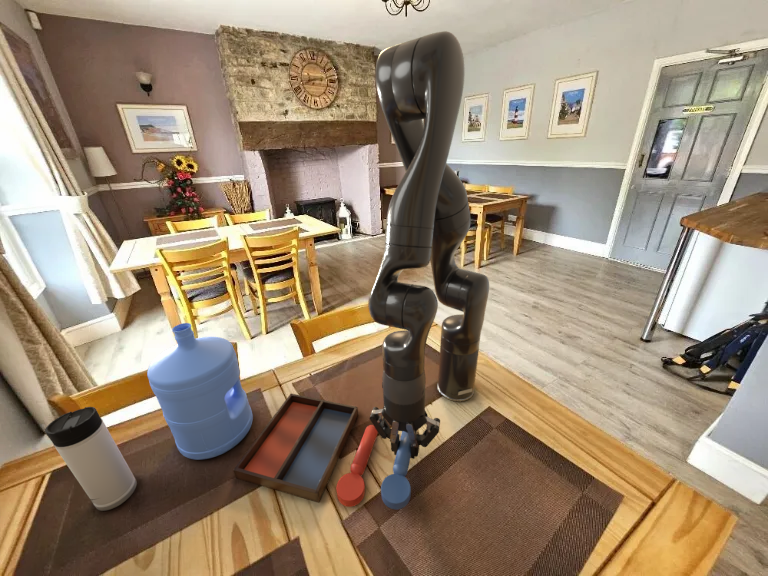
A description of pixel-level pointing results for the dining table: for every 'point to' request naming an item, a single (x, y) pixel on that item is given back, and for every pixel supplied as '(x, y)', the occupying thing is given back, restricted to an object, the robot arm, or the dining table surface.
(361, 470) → the red disc-ended rod
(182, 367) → the water jug
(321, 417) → the sorting tray
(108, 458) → the travel mug
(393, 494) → the blue round-ended rod
